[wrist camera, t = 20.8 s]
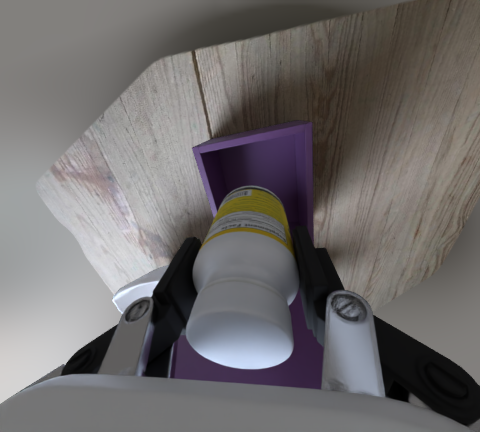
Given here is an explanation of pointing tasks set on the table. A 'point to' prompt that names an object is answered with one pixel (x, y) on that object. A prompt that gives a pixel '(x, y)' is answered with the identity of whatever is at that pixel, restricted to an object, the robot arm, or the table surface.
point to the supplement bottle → (245, 283)
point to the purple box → (263, 167)
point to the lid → (284, 374)
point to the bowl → (138, 289)
